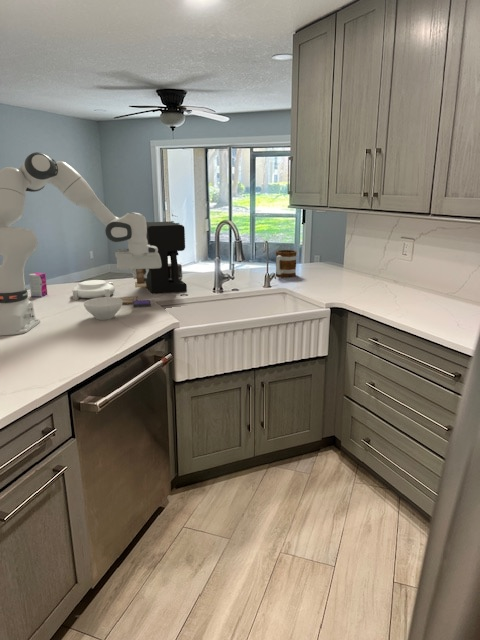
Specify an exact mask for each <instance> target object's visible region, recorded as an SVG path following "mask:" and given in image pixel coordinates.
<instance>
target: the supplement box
mask: <svg viewBox="0 0 480 640" xmlns="http://www.w3.org/2000/svg"><path fill="white" fill-rule="evenodd" d="M46 276H47V275H46V273H44V272H43V273H42V272H34V273H29V274H28V278H29V289H30V297H31V298H43V297H45V296H48V287H47V279H46V278H47V277H46Z"/></svg>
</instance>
